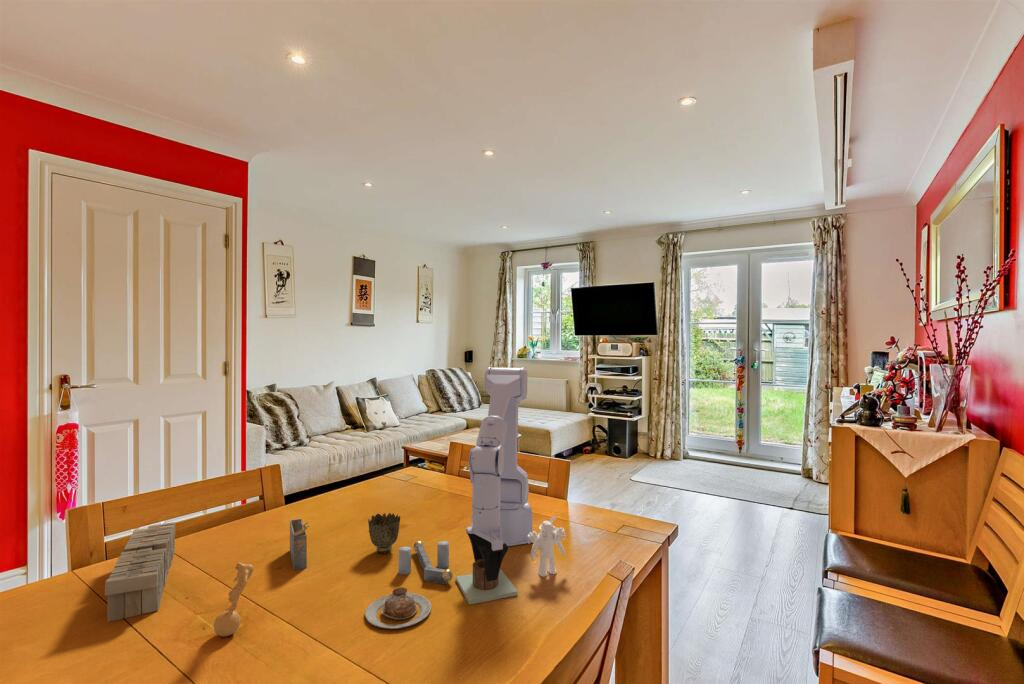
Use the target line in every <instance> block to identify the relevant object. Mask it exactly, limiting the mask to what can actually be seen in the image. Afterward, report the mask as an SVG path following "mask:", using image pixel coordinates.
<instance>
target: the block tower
mask: <svg viewBox="0 0 1024 684" xmlns="http://www.w3.org/2000/svg"><path fill="white" fill-rule="evenodd" d="M175 554H176V522H175V521H174V522H173V521H172V522H165V523H162V524H154V525H148V526H147V527H146V528H141V529H134V530H133V531H132V534H130V537H129V539H128V540H127V543H126V545H125V546H124V548H123V552H121V553H120V555H119V558H118V559H117V560H116V561H115V562H116V563H115V565H114V566H113V569H112V571H111V573H110V575H109V576H108V578H106V580H105V581H104V582H105V583H104V584H105V586H104V596H107V622H114V621H118V620H123V619H125V618H131V617H132V618H133V617H137V616H140V615H143V614H147V613H154V612H157V611H159V610H160V609H159V608H160V606H161V600H162V598H163V592H164V588H165V587H166V584H167V579H168V575H169V572H170V569H171V566H172V563H173V560H174V556H175Z"/></svg>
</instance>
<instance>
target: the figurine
mask: <svg viewBox="0 0 1024 684" xmlns="http://www.w3.org/2000/svg"><path fill="white" fill-rule="evenodd" d="M235 570H236V571H237V572H236V576H235V578H234V579H233V582H237V583H236V584H235V585H234V586H233V587H232V589H230V591H229V592H228V599H227V600H228V602H229V603H231V605H230V606H229V607H227V608H226V609H225V610H224V611H222V612H221V613H219V614H218V616H217V617H216V618H215V619H214V622H213V631H214V633H215V634H216V635H218V636H219V637H229V636H231V635H233V634H234V633H235V632H237V630H238V628H239V627H240V625H241V616H240V614H239V612H238V611H236V608H237V607H238V601H239V599H240V596H241V595H242V592H243V591H244V590H245V587H246V585H247V583H248V580H249V579H250V578H251V576H252V575H253V573H254V565H252V564H251V563H242V562H237V563H236V564H235Z"/></svg>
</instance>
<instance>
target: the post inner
mask: <svg viewBox="0 0 1024 684" xmlns="http://www.w3.org/2000/svg"><path fill="white" fill-rule="evenodd" d="M436 547H437V548H436V550H437V551H436V552H437V553H436V556H437V557H436V561H437V562H436V563H437V564H436V565H437V566H436V568H438V569H447V568H448V567H449V566H450V542H449V541H447V540H443V541H439V542H437V546H436Z"/></svg>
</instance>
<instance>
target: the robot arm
mask: <svg viewBox="0 0 1024 684" xmlns="http://www.w3.org/2000/svg"><path fill="white" fill-rule="evenodd" d="M484 388H485V390H486V393H487V395H489V405H488V413H487V416H486V417H484V418H483V419H482V420H481V423H480V427H479V431H478V434H477V435H478V436H477V438H476V443H475V447H474V448H473V447H472V448H471V449H470V452H469V456H468V470H469V476H470V477H469V478H470V479H469V480H470V483H471V485H472V501H471V502H472V511H471V512H472V514H471V526H467V527H466V529H465V532H466V534H467V536H468V538H469V541H470V543H471V549H472V554H473V559H474V562H475V561H477V560H480V559H483V561H484V568H485V576H486V579H487V581H493V580H497V578H498V575H499V571H500V569H501V566H502V562H503V560H504V557H505V555H506V554H507V552H508V551H509V547H513V546H518V545H526V544H528V542H530V540H529V539H528V538H527V535H528V534H529V533H530V532H531V533H532V532H534V531H533V528H534V527H533V525H534V524H533V519H534V518H533V516H534V515H533V511H532V507H531V505H530V503H529V502H528V501H529V495H530V494H529V493H530V491H529V490H530V489H529V486H530V485H529V484H530V483H529V475H528V473H527V472H526V471H525V470H524V469H523V468H522V467H520V466H519V464H518V450H519V449H518V447H519V445H518V444H519V443H518V441H519V440H518V439H519V438H518V437H519V434H518V433H519V429H518V428H519V407H520V402H521V401H524V400H526V399H527V395H528V371H527V369H526V367H492V366H488V367H487V368H486V369H485V373H484ZM530 544H533V542H532V541H531V542H530Z"/></svg>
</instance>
